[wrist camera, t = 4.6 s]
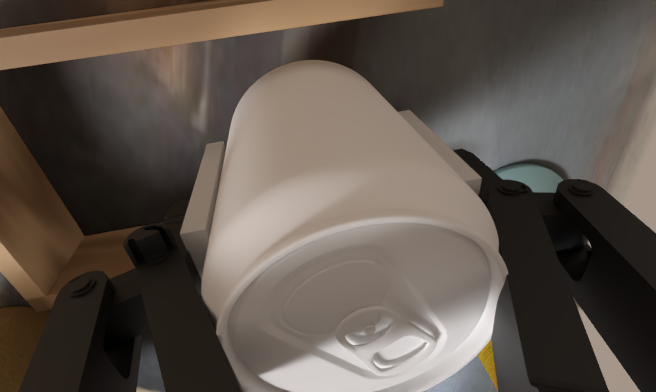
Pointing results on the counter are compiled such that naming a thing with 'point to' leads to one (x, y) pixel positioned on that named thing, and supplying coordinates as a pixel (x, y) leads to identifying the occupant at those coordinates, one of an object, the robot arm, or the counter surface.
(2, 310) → the plant pot
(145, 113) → the counter surface
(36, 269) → the brown wooden rectangular tray
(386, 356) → the beverage can
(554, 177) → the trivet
